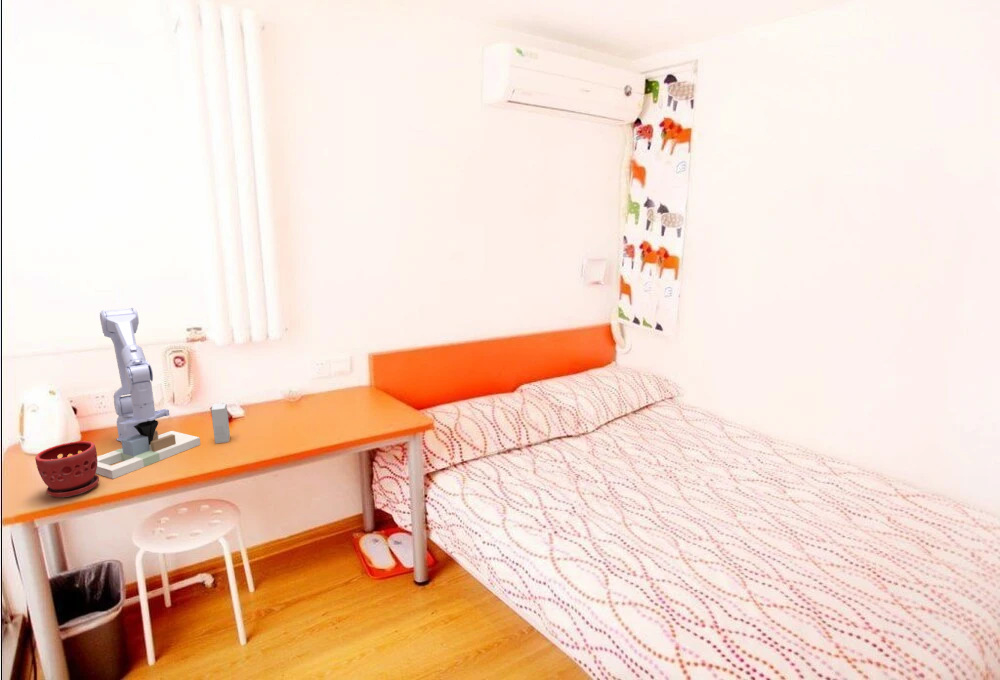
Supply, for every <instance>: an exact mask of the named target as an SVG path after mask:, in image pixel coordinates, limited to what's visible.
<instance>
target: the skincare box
mask: <svg viewBox="0 0 1000 680" xmlns="http://www.w3.org/2000/svg"><path fill="white" fill-rule="evenodd" d="M210 413H211V421H212V428H213V438H214V444H221V443H222V444H224V443H229V441H230V437H231V433H230V431H231V430H230V425H229V415H228V406H227V403H226V402H225V403H223V402H222V403H213V404H212V406H211V412H210Z"/></svg>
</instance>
